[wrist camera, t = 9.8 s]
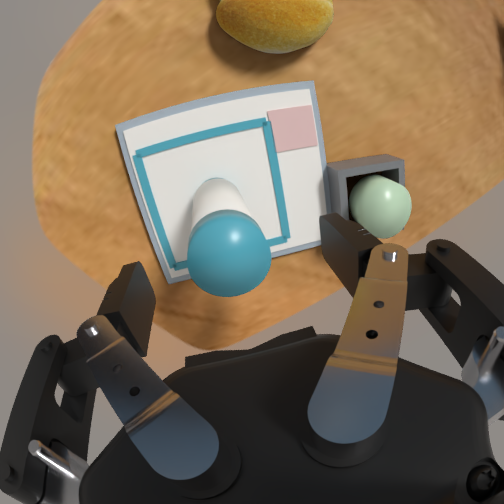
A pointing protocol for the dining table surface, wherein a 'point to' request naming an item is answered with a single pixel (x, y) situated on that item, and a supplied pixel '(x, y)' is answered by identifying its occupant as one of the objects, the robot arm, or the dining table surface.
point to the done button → (380, 205)
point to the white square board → (231, 166)
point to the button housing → (342, 169)
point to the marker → (225, 242)
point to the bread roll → (275, 22)
